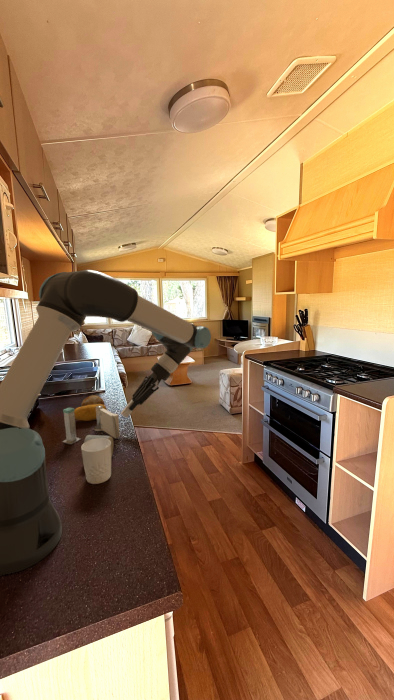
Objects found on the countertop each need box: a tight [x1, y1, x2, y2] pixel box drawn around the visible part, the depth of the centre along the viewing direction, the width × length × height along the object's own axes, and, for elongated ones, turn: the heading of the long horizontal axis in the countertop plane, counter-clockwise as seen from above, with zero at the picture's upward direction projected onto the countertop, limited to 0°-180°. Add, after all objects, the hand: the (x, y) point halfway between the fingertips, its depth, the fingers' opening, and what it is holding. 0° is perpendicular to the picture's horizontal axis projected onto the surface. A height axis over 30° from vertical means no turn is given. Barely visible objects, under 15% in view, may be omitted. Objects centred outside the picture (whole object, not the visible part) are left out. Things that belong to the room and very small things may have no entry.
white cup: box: [80, 438, 112, 485], centre depth 85 cm, size 8×8×10 cm
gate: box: [100, 408, 121, 440], centre depth 111 cm, size 12×2×9 cm, turn 43°
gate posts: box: [62, 405, 104, 445], centre depth 112 cm, size 18×5×12 cm, turn 144°
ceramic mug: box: [83, 434, 115, 458], centre depth 97 cm, size 11×8×8 cm
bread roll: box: [80, 394, 106, 407], centre depth 139 cm, size 10×10×8 cm
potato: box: [74, 404, 108, 422], centre depth 126 cm, size 8×14×7 cm, turn 108°
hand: (123, 415), depth 113 cm, fingers closed
